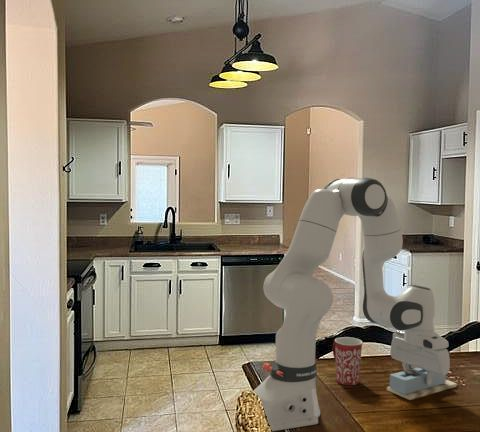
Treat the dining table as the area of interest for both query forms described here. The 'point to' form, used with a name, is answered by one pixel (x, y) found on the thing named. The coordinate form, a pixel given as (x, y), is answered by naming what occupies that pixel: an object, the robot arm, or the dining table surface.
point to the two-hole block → (413, 381)
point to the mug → (347, 360)
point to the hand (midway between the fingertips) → (417, 380)
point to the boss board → (424, 391)
